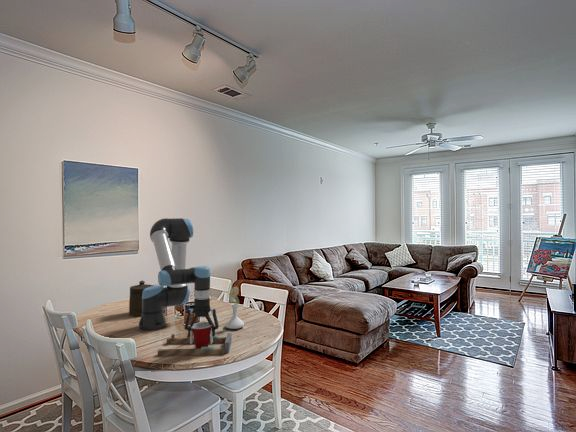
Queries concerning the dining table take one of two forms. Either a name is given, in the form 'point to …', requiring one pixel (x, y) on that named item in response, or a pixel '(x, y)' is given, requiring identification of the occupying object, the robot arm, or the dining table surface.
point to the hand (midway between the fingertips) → (201, 343)
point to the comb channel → (191, 351)
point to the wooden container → (136, 299)
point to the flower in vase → (234, 311)
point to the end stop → (228, 343)
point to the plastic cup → (201, 334)
